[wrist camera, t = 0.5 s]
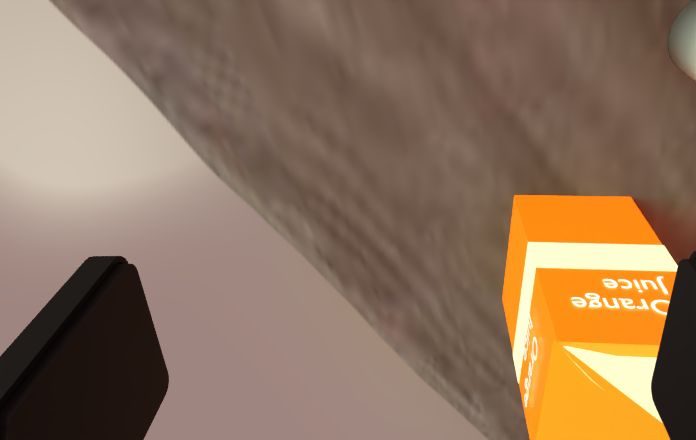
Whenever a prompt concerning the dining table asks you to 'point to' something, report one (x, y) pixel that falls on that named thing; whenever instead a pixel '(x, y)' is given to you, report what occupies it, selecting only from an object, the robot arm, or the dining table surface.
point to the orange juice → (586, 316)
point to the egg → (684, 40)
